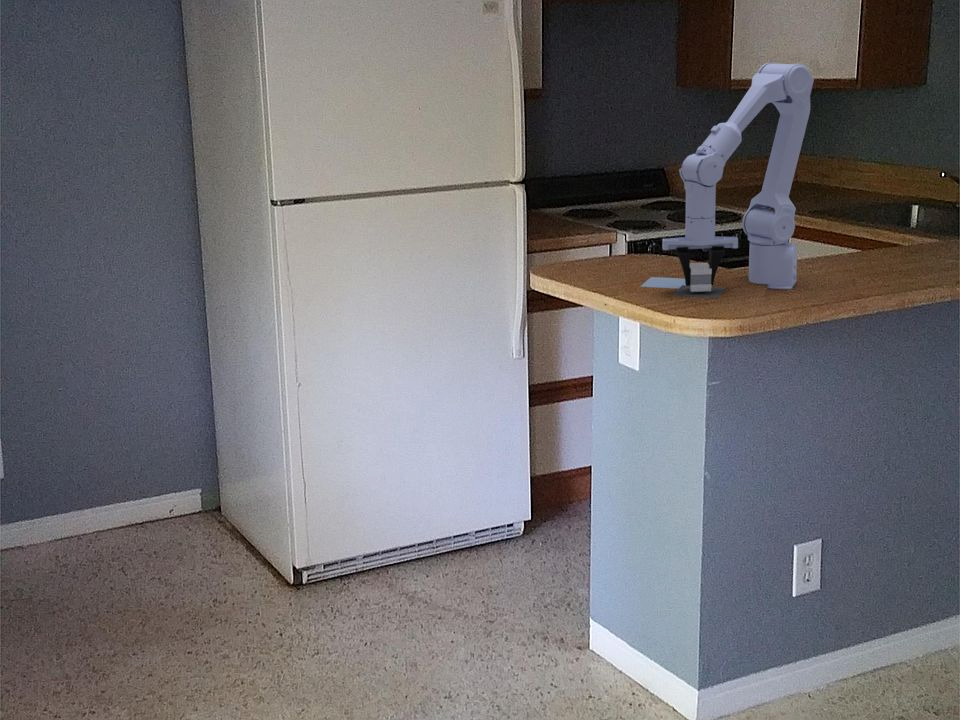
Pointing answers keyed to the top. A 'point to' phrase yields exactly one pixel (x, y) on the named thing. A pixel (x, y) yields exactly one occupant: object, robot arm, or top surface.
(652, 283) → the stand
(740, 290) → the top surface
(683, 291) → the stand
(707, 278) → the block
